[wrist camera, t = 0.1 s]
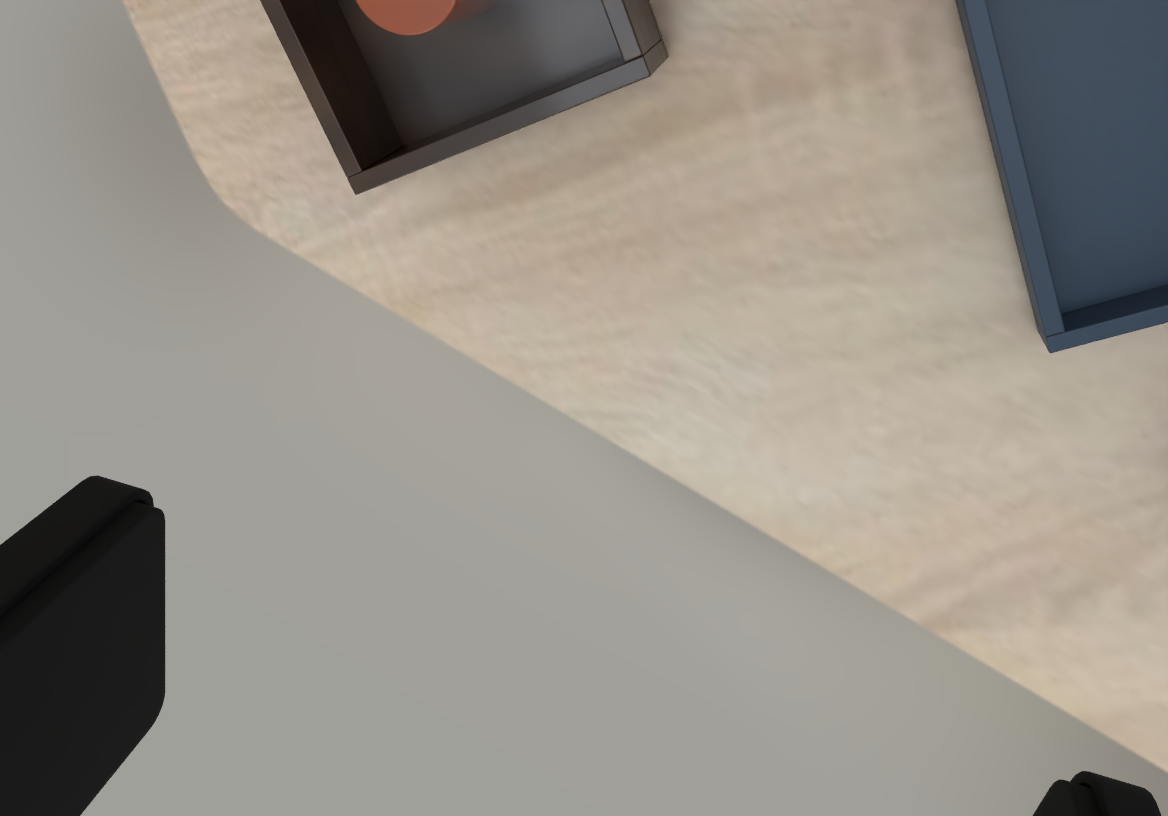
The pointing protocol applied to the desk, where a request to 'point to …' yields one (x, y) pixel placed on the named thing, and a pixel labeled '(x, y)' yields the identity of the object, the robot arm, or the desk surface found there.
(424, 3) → the orange cylinder
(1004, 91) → the tray
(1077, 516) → the desk surface
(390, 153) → the brown open box
